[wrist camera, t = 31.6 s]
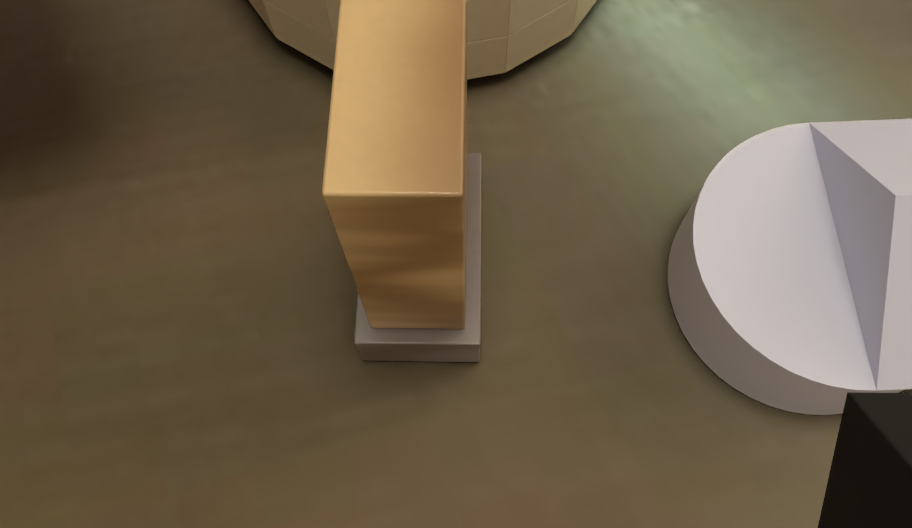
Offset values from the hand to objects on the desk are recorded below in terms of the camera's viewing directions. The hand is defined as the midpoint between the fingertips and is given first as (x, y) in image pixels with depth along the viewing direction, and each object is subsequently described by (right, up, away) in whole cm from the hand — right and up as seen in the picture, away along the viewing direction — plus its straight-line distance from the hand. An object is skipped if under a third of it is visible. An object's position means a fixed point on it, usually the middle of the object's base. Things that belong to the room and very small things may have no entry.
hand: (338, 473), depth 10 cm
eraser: (0, +3, +17) cm, 17 cm away
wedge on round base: (+15, +2, +17) cm, 23 cm away
